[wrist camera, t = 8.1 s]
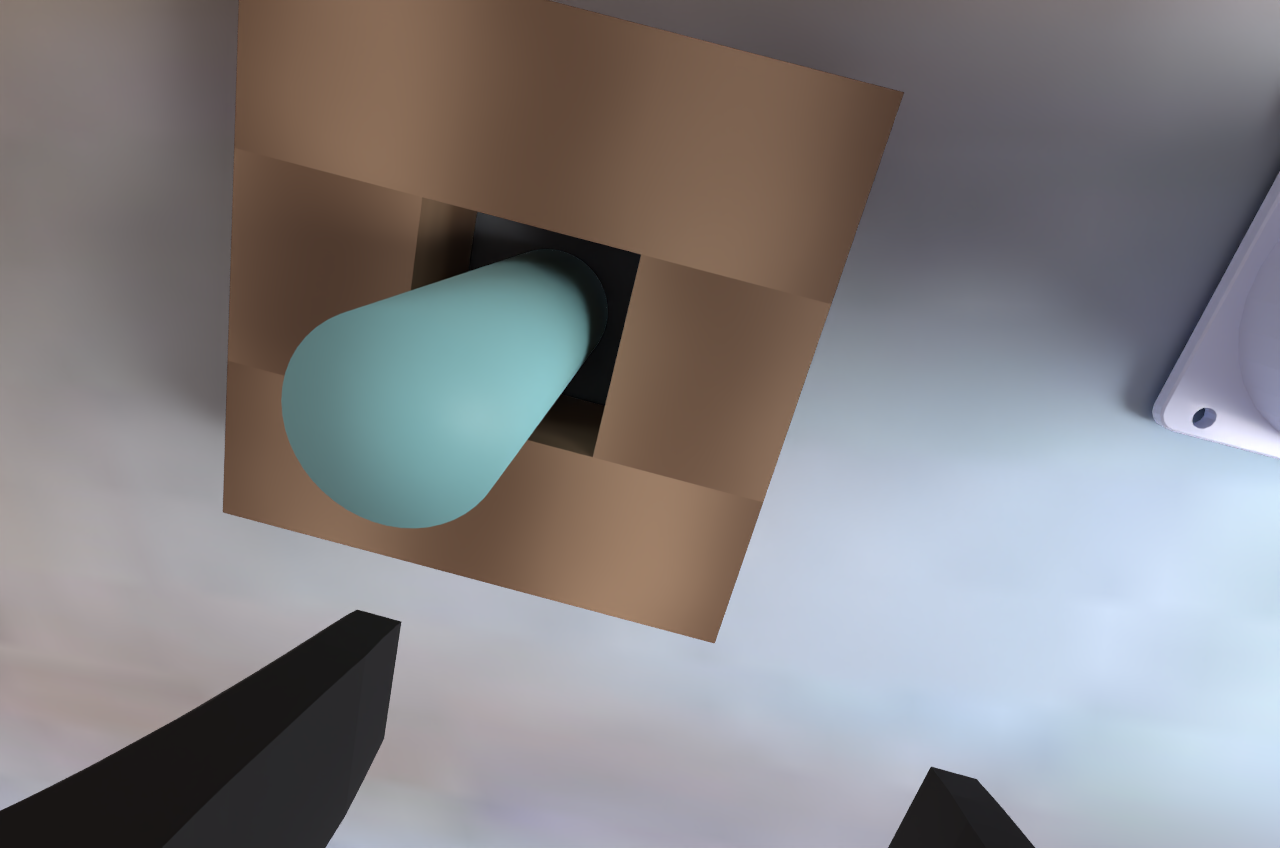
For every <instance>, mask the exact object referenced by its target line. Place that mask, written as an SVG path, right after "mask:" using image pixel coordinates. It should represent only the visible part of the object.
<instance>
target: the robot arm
mask: <svg viewBox="0 0 1280 848" xmlns="http://www.w3.org/2000/svg"><path fill="white" fill-rule="evenodd" d="M1203 408H1204V409H1205V413H1204V416H1203V417H1202V418H1201V419H1200V420H1199V421H1197V422H1195V423H1193V422H1192V419H1193V415H1194V414H1195V413H1196V412H1197V411H1198V410H1200V409H1203ZM1152 413H1153V418H1154V420H1155V421H1156V423H1157V424H1159V425H1161V426H1163V427H1165V428H1167V429H1169V430H1171V431H1173V432H1177V433H1181V434H1185V435H1188V436H1192V437H1196V438H1200V439H1204V440H1208V441H1211V442H1215V443H1219V444H1223V445H1227V446H1230V447H1234V448H1238V449H1242V450H1246V451H1249V452H1253V453H1257V454H1261V455H1265V456H1269V457H1272V458H1276V459H1280V172H1279V174H1278V175H1277V177H1276V179H1275V181H1274V183H1273V185H1272V186H1271V188H1270V190H1269V192H1268V194H1267V196H1266V198H1265V199H1264V201H1263V203H1262V205H1261V207H1260V209H1259V211H1258V212H1257V214H1256V216H1255V218H1254V220H1253V222H1252V224H1251V225H1250V227H1249V229H1248V231H1247V233H1246V235H1245V237H1244V238H1243V240H1242V242H1241V244H1240V246H1239V248H1238V249H1237V251H1236V253H1235V255H1234V257H1233V259H1232V261H1231V262H1230V264H1229V266H1228V268H1227V270H1226V272H1225V274H1224V275H1223V277H1222V279H1221V281H1220V283H1219V285H1218V287H1217V288H1216V290H1215V292H1214V294H1213V296H1212V298H1211V300H1210V301H1209V303H1208V305H1207V307H1206V309H1205V311H1204V312H1203V314H1202V316H1201V318H1200V320H1199V322H1198V324H1197V325H1196V327H1195V329H1194V331H1193V333H1192V335H1191V337H1190V338H1189V340H1188V342H1187V344H1186V346H1185V348H1184V350H1183V351H1182V353H1181V355H1180V357H1179V359H1178V361H1177V363H1176V364H1175V366H1174V368H1173V370H1172V372H1171V374H1170V375H1169V377H1168V379H1167V381H1166V383H1165V385H1164V387H1163V388H1162V390H1161V392H1160V394H1159V396H1158V398H1157V400H1156V401H1155V403H1154V406H1153V410H1152ZM400 627H401V622H400V621H397V620H393V619H389V618H386V617H382V616H378V615H375V614H371V613H368V612H364V611H360V610H356V611H354V612H352V613H350V614H348V615H346V616H345V617H343V618H341V619H340V620H338V621H337V622H335V623H333V624H332V625H330V626H329V627H327V628H326V629H324V630H322V631H321V632H319V633H318V634H316V635H315V636H313V637H311V638H310V639H308V640H307V641H305V642H303V643H302V644H300V645H299V646H297V647H296V648H294V649H292V650H291V651H289V652H288V653H286V654H284V655H283V656H281V657H280V658H278V659H276V660H275V661H273V662H272V663H270V664H268V665H267V666H265V667H264V668H262V669H260V670H259V671H257V672H255V673H254V674H252V675H250V676H249V677H247V678H245V679H244V680H242V681H240V682H239V683H237V684H235V685H234V686H232V687H230V688H229V689H227V690H225V691H224V692H222V693H220V694H219V695H217V696H215V697H214V698H212V699H210V700H209V701H207V702H205V703H204V704H202V705H200V706H198V707H197V708H195V709H193V710H192V711H190V712H188V713H186V714H185V715H183V716H181V717H179V718H178V719H176V720H174V721H172V722H170V723H169V724H167V725H165V726H163V727H161V728H159V729H158V730H156V731H154V732H152V733H150V734H148V735H147V736H145V737H143V738H141V739H139V740H137V741H136V742H134V743H132V744H130V745H128V746H127V747H125V748H123V749H121V750H119V751H117V752H116V753H114V754H112V755H110V756H108V757H106V758H105V759H103V760H101V761H99V762H97V763H95V764H93V765H91V766H90V767H88V768H86V769H84V770H82V771H80V772H78V773H76V774H74V775H72V776H70V777H68V778H66V779H64V780H62V781H60V782H58V783H56V784H54V785H52V786H50V787H48V788H46V789H44V790H42V791H40V792H38V793H36V794H34V795H32V796H30V797H28V798H26V799H24V800H22V801H20V802H18V803H16V804H14V805H11V806H9V807H7V808H5V809H3V810H1V811H0V848H325V847H326V846H327V844H328V843H329V841H330V839H331V838H332V836H333V835H334V833H335V831H336V830H337V828H338V827H339V825H340V823H341V822H342V820H343V819H344V817H345V815H346V813H347V811H348V809H349V807H350V805H351V803H352V802H353V800H354V798H355V796H356V794H357V792H358V790H359V788H360V786H361V784H362V782H363V780H364V778H365V776H366V774H367V772H368V770H369V768H370V766H371V764H372V762H373V760H374V758H375V756H376V754H377V752H378V750H379V748H380V746H381V744H382V741H383V739H384V735H385V728H386V721H387V714H388V708H389V701H390V694H391V687H392V681H393V674H394V667H395V660H396V654H397V647H398V640H399V633H400ZM888 848H1035V847H1034V846H1033V845H1032V843H1031V842H1030V841H1029V840H1028V839H1027V837H1026V836H1025V835H1024V834H1023V833H1022V831H1021V830H1020V829H1019V828H1018V826H1017V825H1016V824H1015V823H1014V822H1013V820H1012V819H1011V818H1010V817H1009V816H1008V815H1007V813H1006V812H1005V811H1004V810H1003V809H1002V807H1001V806H1000V805H999V804H998V803H997V802H996V800H995V799H994V798H993V797H992V796H991V795H990V794H989V793H988V791H987V790H986V789H985V788H984V787H983V786H982V785H981V784H980V782H979V781H978V780H977V779H974V778H970V777H967V776H963V775H959V774H956V773H952V772H948V771H945V770H941V769H938V768H934V767H931V768H930V770H929V771H928V773H927V775H926V777H925V779H924V781H923V783H922V785H921V787H920V788H919V790H918V792H917V794H916V796H915V798H914V800H913V802H912V804H911V805H910V807H909V809H908V811H907V813H906V815H905V817H904V819H903V821H902V822H901V824H900V826H899V828H898V830H897V832H896V834H895V836H894V838H893V839H892V841H891V843H890V845H889V847H888Z"/></svg>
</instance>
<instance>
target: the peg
mask: <svg viewBox="0 0 1280 848" xmlns="http://www.w3.org/2000/svg"><path fill="white" fill-rule="evenodd" d="M607 317H608V305H607V299H606V295H605V292H604V289H603V287H602V284H601V282H600V281H599V279H598V277H597V276H596V274H595V273H594V272H593V271H592V269H591V268H590V267H589V266H588V265H587V264H585V263H584V262H583V261H581V260H580V259H579V258H577V257H575V256H573V255H571V254H569V253H566V252H563V251H560V250H554V249H539V250H533V251H530V252H527V253H524V254H521V255H517V256H514V257H511V258H508V259H505V260H502V261H499V262H496V263H493V264H490V265H487V266H484V267H481V268H478V269H475V270H472V271H469V272H466V273H463V274H460V275H457V276H454V277H451V278H448V279H445V280H441V281H438V282H435V283H432V284H429V285H426V286H423V287H420V288H417V289H414V290H411V291H408V292H405V293H402V294H399V295H396V296H393V297H390V298H387V299H384V300H381V301H378V302H375V303H372V304H369V305H365V306H362V307H359V308H356V309H353V310H350V311H347V312H344V313H341V314H339V315H337V316H334V317H332V318H330V319H328V320H326V321H325V322H323V323H322V324H320V325H319V326H317V327H316V328H315V329H314V330H313V331H311V332H310V333H309V334H308V335H307V336H306V337H305V338H304V339H303V341H302V342H301V343H300V345H299V346H298V347H297V349H296V350H295V352H294V354H293V356H292V357H291V359H290V362H289V364H288V367H287V370H286V372H285V376H284V381H283V386H282V398H281V403H282V416H283V421H284V426H285V430H286V433H287V436H288V440H289V443H290V445H291V447H292V449H293V451H294V454H295V456H296V457H297V459H298V461H299V462H300V464H301V466H302V467H303V469H304V470H305V472H306V473H307V474H308V475H309V477H310V478H311V479H312V481H313V482H314V483H315V484H316V485H317V486H318V487H319V488H320V489H321V490H322V491H323V492H324V493H325V494H326V495H328V496H329V497H330V498H331V499H332V500H333V501H335V502H336V503H338V504H339V505H341V506H342V507H344V508H345V509H346V510H348V511H350V512H352V513H354V514H356V515H358V516H360V517H362V518H365V519H367V520H370V521H372V522H375V523H379V524H382V525H386V526H392V527H398V528H425V527H432V526H436V525H441V524H444V523H447V522H449V521H452V520H455V519H456V518H458V517H460V516H462V515H464V514H466V513H467V512H468V511H470V510H471V509H473V508H474V507H475V506H476V505H477V504H478V503H479V502H480V501H481V500H483V499H484V498H485V496H486V495H487V494H488V492H489V491H490V490H491V488H492V487H493V486H494V484H495V483H496V482H497V480H498V479H499V478H500V476H501V475H502V473H503V472H504V471H505V469H506V468H507V467H508V465H509V464H510V463H511V461H512V460H513V459H514V457H515V456H516V454H517V453H518V452H519V450H520V449H521V448H522V446H523V445H524V444H525V442H526V441H527V439H528V438H529V437H530V435H531V434H532V433H533V431H534V430H535V429H536V427H537V426H538V425H539V423H540V422H541V420H542V419H543V418H544V416H545V415H546V414H547V412H548V411H549V410H550V408H551V407H552V405H553V404H554V403H555V401H556V400H557V399H558V397H559V396H560V395H561V393H562V392H563V391H564V389H565V388H566V386H567V385H568V384H569V382H570V381H571V380H572V378H573V377H574V376H575V374H576V373H577V371H578V370H579V369H580V367H581V366H582V365H583V363H584V362H585V361H586V359H587V358H588V357H589V355H590V354H591V352H592V351H593V350H594V348H595V347H596V346H597V344H598V343H599V341H600V339H601V338H602V336H603V333H604V331H605V328H606V324H607Z"/></svg>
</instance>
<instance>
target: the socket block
mask: <svg viewBox="0 0 1280 848" xmlns="http://www.w3.org/2000/svg"><path fill="white" fill-rule="evenodd" d="M903 94H904V92H900V91H897V90H893V89H889V88H885V87H881V86H877V85H873V84H870V83H866V82H862V81H858V80H854V79H850V78H846V77H843V76H839V75H835V74H831V73H827V72H823V71H819V70H815V69H812V68H808V67H804V66H800V65H796V64H792V63H788V62H785V61H781V60H777V59H773V58H769V57H765V56H761V55H758V54H754V53H750V52H746V51H742V50H738V49H734V48H731V47H727V46H723V45H719V44H715V43H711V42H707V41H704V40H700V39H696V38H692V37H688V36H684V35H680V34H676V33H673V32H669V31H665V30H661V29H657V28H653V27H649V26H646V25H642V24H638V23H634V22H630V21H626V20H622V19H619V18H615V17H611V16H607V15H603V14H599V13H595V12H592V11H588V10H584V9H580V8H576V7H572V6H568V5H564V4H561V3H557V2H553V1H549V0H239V13H238V45H237V77H236V108H235V140H234V172H233V204H232V236H231V268H230V300H229V332H228V364H227V396H226V428H225V460H224V492H223V512H224V513H227V514H231V515H235V516H239V517H242V518H246V519H250V520H254V521H258V522H261V523H265V524H269V525H273V526H276V527H280V528H284V529H288V530H291V531H295V532H299V533H303V534H306V535H310V536H314V537H318V538H321V539H325V540H329V541H333V542H336V543H340V544H344V545H348V546H351V547H355V548H359V549H363V550H366V551H370V552H374V553H378V554H381V555H385V556H389V557H393V558H396V559H400V560H404V561H408V562H411V563H415V564H419V565H423V566H426V567H430V568H434V569H438V570H441V571H445V572H449V573H453V574H456V575H460V576H464V577H468V578H471V579H475V580H479V581H483V582H486V583H490V584H494V585H498V586H501V587H505V588H509V589H513V590H516V591H520V592H524V593H528V594H531V595H535V596H539V597H543V598H546V599H550V600H554V601H558V602H561V603H565V604H569V605H573V606H576V607H580V608H584V609H588V610H591V611H595V612H599V613H603V614H606V615H610V616H614V617H618V618H621V619H625V620H629V621H633V622H636V623H640V624H644V625H648V626H651V627H655V628H659V629H663V630H666V631H670V632H674V633H678V634H681V635H685V636H689V637H693V638H696V639H700V640H704V641H708V642H711V643H715V641H716V638H717V635H718V632H719V629H720V626H721V623H722V620H723V617H724V614H725V612H726V609H727V606H728V603H729V600H730V597H731V594H732V591H733V588H734V585H735V582H736V580H737V577H738V574H739V571H740V568H741V565H742V562H743V559H744V556H745V553H746V550H747V548H748V545H749V542H750V539H751V536H752V533H753V530H754V527H755V524H756V521H757V519H758V516H759V513H760V510H761V507H762V504H763V501H764V498H765V495H766V492H767V489H768V487H769V484H770V481H771V478H772V475H773V472H774V469H775V466H776V463H777V460H778V457H779V455H780V452H781V449H782V446H783V443H784V440H785V437H786V434H787V431H788V428H789V425H790V423H791V420H792V417H793V414H794V411H795V408H796V405H797V402H798V399H799V396H800V393H801V391H802V388H803V385H804V382H805V379H806V376H807V373H808V370H809V367H810V364H811V362H812V359H813V356H814V353H815V350H816V347H817V344H818V341H819V338H820V335H821V332H822V330H823V327H824V324H825V321H826V318H827V315H828V312H829V309H830V306H831V303H832V300H833V298H834V295H835V292H836V289H837V286H838V283H839V280H840V277H841V274H842V271H843V268H844V266H845V263H846V260H847V257H848V254H849V251H850V248H851V245H852V242H853V239H854V236H855V234H856V231H857V228H858V225H859V222H860V219H861V216H862V213H863V210H864V207H865V205H866V202H867V199H868V196H869V193H870V190H871V187H872V184H873V181H874V178H875V175H876V173H877V170H878V167H879V164H880V161H881V158H882V155H883V152H884V149H885V146H886V143H887V141H888V138H889V135H890V132H891V129H892V126H893V123H894V120H895V117H896V114H897V111H898V109H899V106H900V103H901V100H902V97H903ZM477 212H481V213H485V214H489V215H493V216H496V217H500V218H504V219H508V220H512V221H515V222H519V223H523V224H527V225H531V226H535V227H538V228H542V229H546V230H550V231H554V232H557V233H561V234H565V235H569V236H573V237H577V238H580V239H584V240H588V241H592V242H596V243H599V244H603V245H607V246H611V247H615V248H619V249H622V250H626V251H630V252H634V253H638V254H641V257H640V262H639V266H638V270H637V274H636V278H635V282H634V287H633V291H632V295H631V299H630V303H629V308H628V312H627V316H626V320H625V324H624V328H623V333H622V337H621V341H620V345H619V349H618V354H617V358H616V362H615V366H614V370H613V374H612V379H611V383H610V387H609V391H608V395H607V400H606V404H605V406H604V405H600V404H596V403H593V402H589V401H585V400H581V399H578V398H574V397H570V396H566V395H562V394H561V395H560V396H559V397H558V399H557V400H556V401H555V403H554V404H553V405H552V407H551V408H550V410H549V411H548V412H547V414H546V415H545V416H544V418H543V419H542V420H541V422H540V423H539V425H538V426H537V427H536V429H535V430H534V431H533V433H532V434H531V435H530V437H529V438H528V439H527V441H526V442H525V444H524V445H523V446H522V448H521V449H520V450H519V452H518V453H517V454H516V456H515V457H514V459H513V460H512V461H511V463H510V464H509V465H508V467H507V468H506V469H505V471H504V472H503V473H502V475H501V476H500V478H499V479H498V480H497V482H496V483H495V484H494V486H493V487H492V488H491V490H490V491H489V492H488V494H487V495H486V496H485V498H484V499H483V500H481V501H480V502H479V503H478V504H477V505H476V506H475V507H474V508H473V509H471V510H470V511H468V512H467V513H466V514H464V515H462V516H460V517H458V518H456V519H455V520H452V521H449V522H447V523H444V524H441V525H436V526H432V527H425V528H398V527H392V526H386V525H382V524H379V523H375V522H372V521H370V520H367V519H365V518H362V517H360V516H358V515H356V514H354V513H352V512H350V511H348V510H346V509H345V508H344V507H342V506H341V505H339V504H338V503H336V502H335V501H333V500H332V499H331V498H330V497H329V496H328V495H326V494H325V493H324V492H323V491H322V490H321V489H320V488H319V487H318V486H317V485H316V484H315V483H314V482H313V481H312V479H311V478H310V477H309V475H308V474H307V473H306V472H305V470H304V469H303V467H302V466H301V464H300V462H299V461H298V459H297V457H296V456H295V454H294V451H293V449H292V447H291V445H290V443H289V440H288V436H287V433H286V430H285V426H284V421H283V416H282V403H281V398H282V386H283V381H284V376H285V372H286V370H287V367H288V364H289V362H290V359H291V357H292V356H293V354H294V352H295V350H296V349H297V347H298V346H299V345H300V343H301V342H302V341H303V339H304V338H305V337H306V336H307V335H308V334H309V333H310V332H311V331H313V330H314V329H315V328H316V327H317V326H319V325H320V324H322V323H323V322H325V321H326V320H328V319H330V318H332V317H334V316H337V315H339V314H341V313H344V312H347V311H350V310H353V309H356V308H359V307H362V306H365V305H369V304H372V303H375V302H378V301H381V300H384V299H387V298H390V297H393V296H396V295H399V294H402V293H405V292H408V291H411V290H414V289H417V288H420V287H423V286H426V285H429V284H432V283H435V282H438V281H441V280H445V279H448V278H451V277H454V276H457V275H460V274H463V273H466V272H468V269H469V262H470V256H471V249H472V243H473V236H474V230H475V223H476V217H477Z"/></svg>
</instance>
